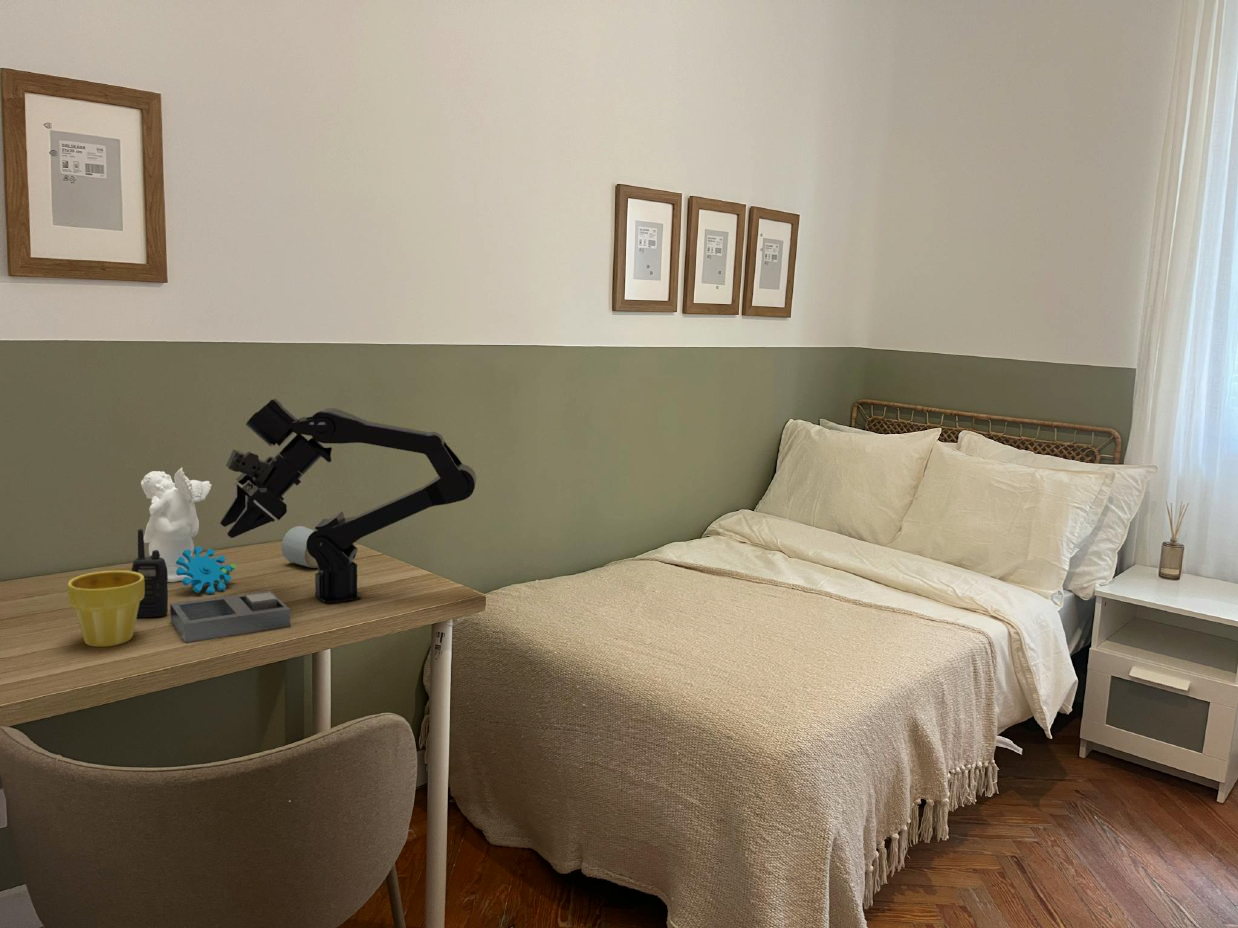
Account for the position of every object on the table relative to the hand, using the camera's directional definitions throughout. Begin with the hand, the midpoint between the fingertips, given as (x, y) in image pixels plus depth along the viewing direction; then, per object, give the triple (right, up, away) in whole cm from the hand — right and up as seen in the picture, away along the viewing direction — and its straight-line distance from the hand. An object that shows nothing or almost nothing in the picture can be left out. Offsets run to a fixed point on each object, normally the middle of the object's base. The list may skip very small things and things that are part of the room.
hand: (225, 530), depth 161 cm
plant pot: (-11, -16, -17) cm, 26 cm away
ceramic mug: (+5, -9, +31) cm, 33 cm away
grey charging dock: (+4, -15, -7) cm, 17 cm away
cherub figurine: (-17, -10, +20) cm, 28 cm away
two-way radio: (-11, -14, -4) cm, 18 cm away
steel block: (+8, -15, -4) cm, 17 cm away
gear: (-8, -12, +11) cm, 18 cm away
